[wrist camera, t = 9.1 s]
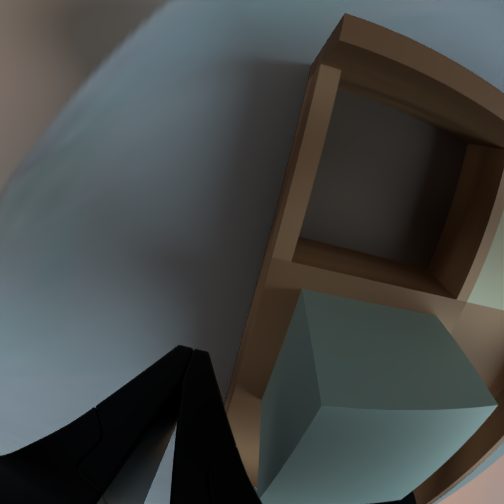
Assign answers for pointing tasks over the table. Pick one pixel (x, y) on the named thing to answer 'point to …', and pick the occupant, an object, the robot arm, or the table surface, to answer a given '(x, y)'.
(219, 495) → the robot arm
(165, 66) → the table surface
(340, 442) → the block
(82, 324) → the table surface
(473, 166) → the box
